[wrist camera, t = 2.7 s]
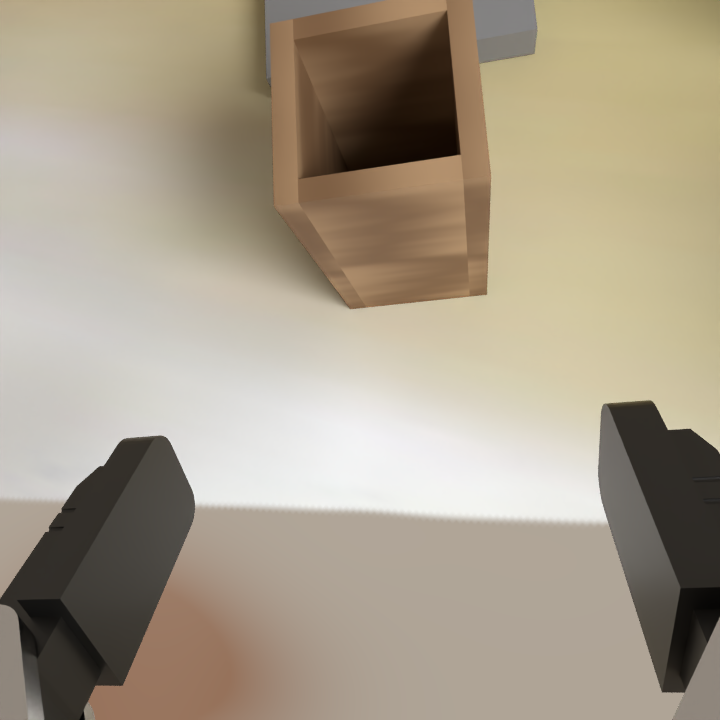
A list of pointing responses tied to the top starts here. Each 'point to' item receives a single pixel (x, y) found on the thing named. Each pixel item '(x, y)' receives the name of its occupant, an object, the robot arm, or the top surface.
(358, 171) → the walnut sleeve
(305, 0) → the post base
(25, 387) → the top surface
